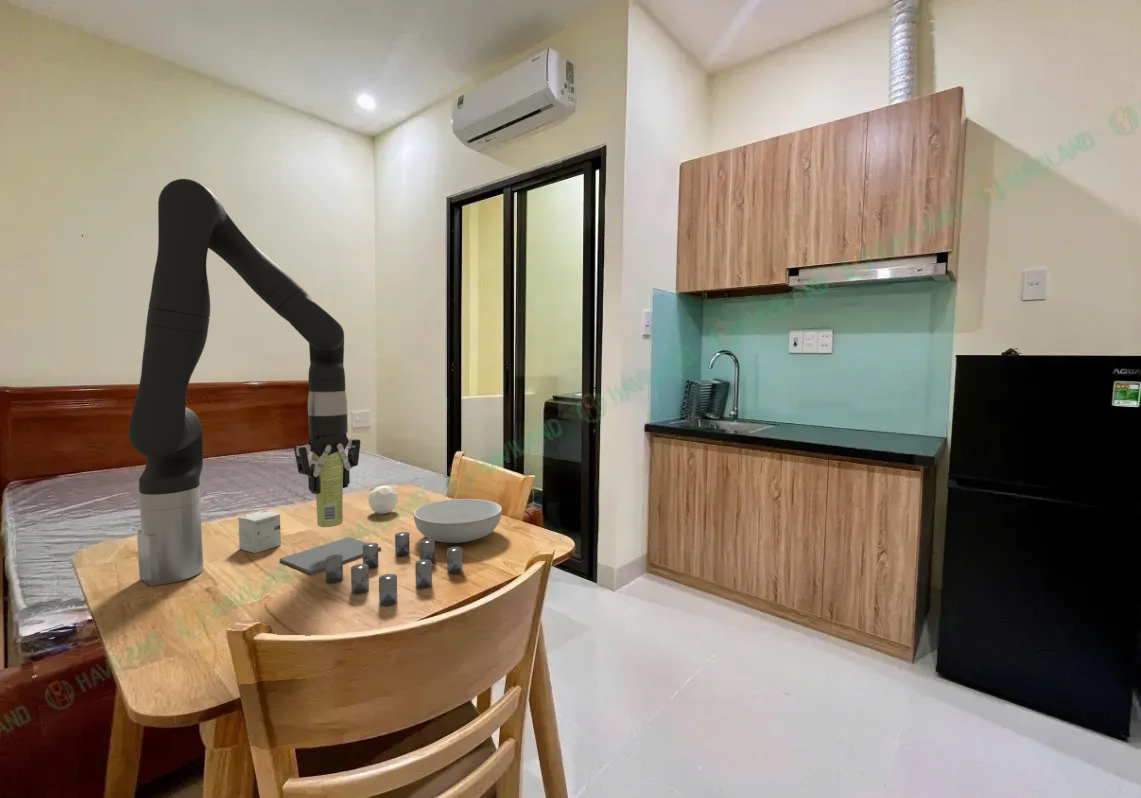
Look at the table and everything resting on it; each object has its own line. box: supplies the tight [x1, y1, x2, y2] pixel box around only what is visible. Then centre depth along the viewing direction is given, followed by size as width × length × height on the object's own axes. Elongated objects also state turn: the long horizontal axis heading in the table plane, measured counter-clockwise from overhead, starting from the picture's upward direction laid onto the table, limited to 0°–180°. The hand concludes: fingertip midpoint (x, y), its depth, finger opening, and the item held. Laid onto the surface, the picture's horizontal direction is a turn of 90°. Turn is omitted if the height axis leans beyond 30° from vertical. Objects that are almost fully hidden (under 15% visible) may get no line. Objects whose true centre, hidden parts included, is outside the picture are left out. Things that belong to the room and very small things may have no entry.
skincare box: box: [238, 510, 282, 554], centre depth 115 cm, size 6×6×7 cm
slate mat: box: [279, 536, 382, 575], centre depth 110 cm, size 16×12×1 cm
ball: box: [367, 484, 399, 515], centre depth 141 cm, size 8×8×8 cm
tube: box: [311, 442, 344, 528], centre depth 109 cm, size 6×5×20 cm
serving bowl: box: [413, 498, 503, 544], centre depth 123 cm, size 21×21×7 cm
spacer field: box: [325, 531, 463, 607], centre depth 100 cm, size 19×19×4 cm
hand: (330, 489), depth 109 cm, fingers closed on tube, 6 cm apart
